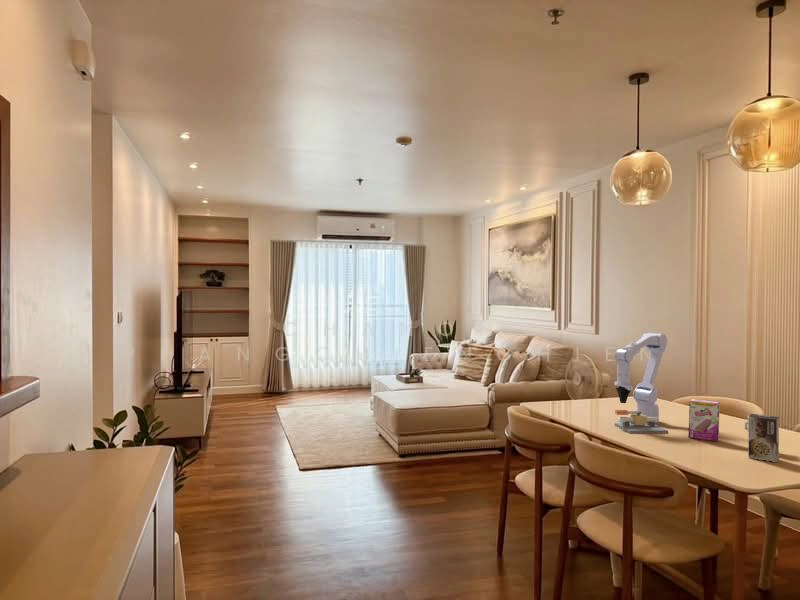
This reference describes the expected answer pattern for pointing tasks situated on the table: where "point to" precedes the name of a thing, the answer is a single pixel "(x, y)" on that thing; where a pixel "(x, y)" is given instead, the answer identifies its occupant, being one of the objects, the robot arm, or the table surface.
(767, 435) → the coffee box
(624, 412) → the valve lever
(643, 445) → the table surface
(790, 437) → the table surface
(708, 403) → the candy bar box
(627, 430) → the valve board
